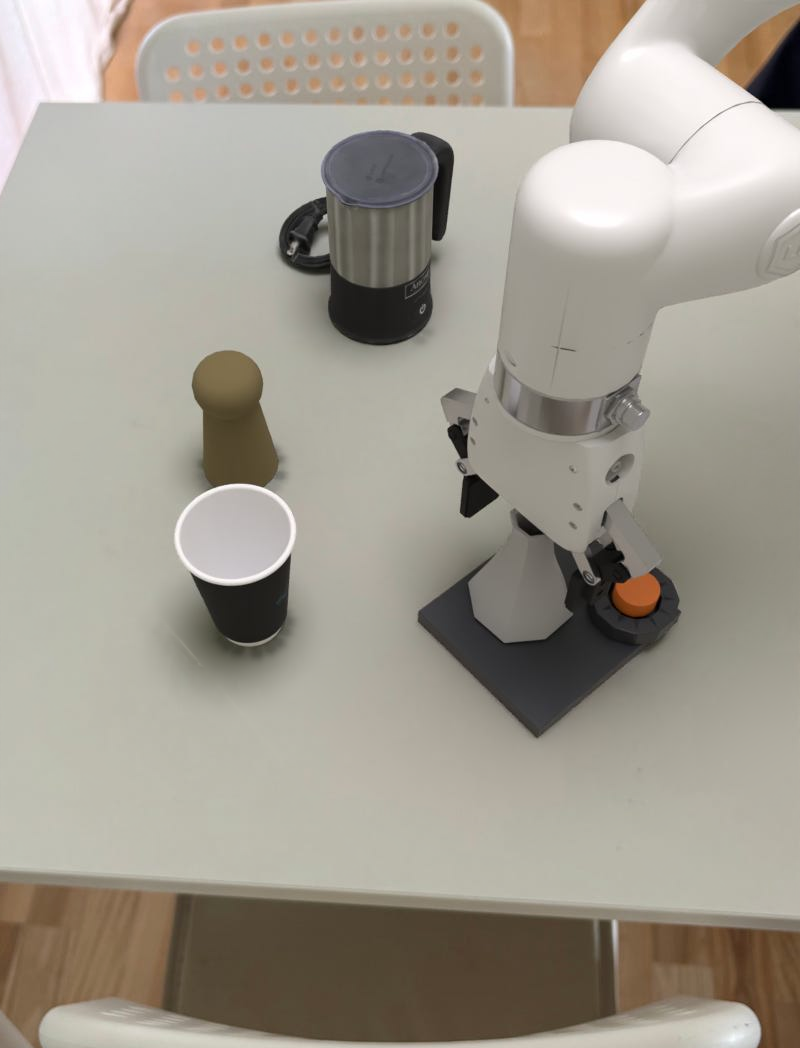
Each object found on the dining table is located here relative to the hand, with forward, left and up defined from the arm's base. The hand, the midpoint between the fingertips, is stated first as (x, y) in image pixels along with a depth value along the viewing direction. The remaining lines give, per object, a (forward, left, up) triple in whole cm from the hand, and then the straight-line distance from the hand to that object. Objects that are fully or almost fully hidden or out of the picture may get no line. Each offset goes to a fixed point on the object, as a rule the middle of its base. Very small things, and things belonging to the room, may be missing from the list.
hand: (530, 550), depth 73 cm
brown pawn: (+7, -24, -8) cm, 26 cm away
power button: (-5, +5, -5) cm, 9 cm away
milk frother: (-13, -34, -8) cm, 37 cm away
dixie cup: (+15, -12, -8) cm, 21 cm away
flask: (0, 0, -7) cm, 7 cm away
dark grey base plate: (-1, +2, -8) cm, 8 cm away
